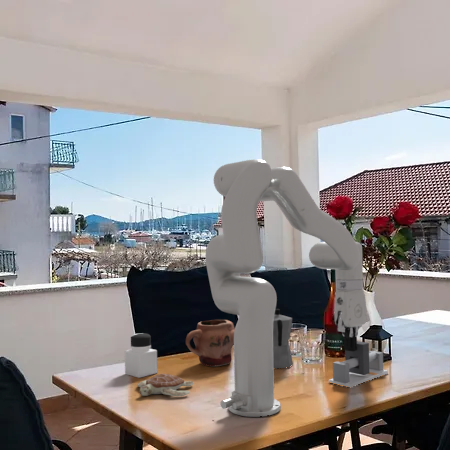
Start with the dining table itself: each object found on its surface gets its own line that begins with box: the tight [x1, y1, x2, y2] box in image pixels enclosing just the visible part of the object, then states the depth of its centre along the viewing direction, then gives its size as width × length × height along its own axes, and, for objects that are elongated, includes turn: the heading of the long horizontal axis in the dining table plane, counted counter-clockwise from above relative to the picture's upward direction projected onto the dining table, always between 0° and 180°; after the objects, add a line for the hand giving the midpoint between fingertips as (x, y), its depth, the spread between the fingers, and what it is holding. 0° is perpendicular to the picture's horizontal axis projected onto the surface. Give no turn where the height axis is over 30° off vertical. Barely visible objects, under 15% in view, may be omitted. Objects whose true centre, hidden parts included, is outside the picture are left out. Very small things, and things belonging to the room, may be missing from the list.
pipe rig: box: [328, 350, 389, 388], centre depth 155 cm, size 20×7×6 cm, turn 134°
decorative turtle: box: [136, 373, 195, 398], centre depth 146 cm, size 18×17×5 cm
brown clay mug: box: [185, 319, 235, 367], centre depth 173 cm, size 20×12×14 cm, turn 134°
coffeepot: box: [273, 308, 294, 370], centre depth 170 cm, size 15×9×18 cm, turn 179°
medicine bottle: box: [124, 332, 158, 379], centre depth 164 cm, size 7×7×12 cm
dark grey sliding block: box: [344, 340, 370, 375], centre depth 154 cm, size 3×6×9 cm, turn 44°
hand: (350, 350), depth 152 cm, fingers closed
